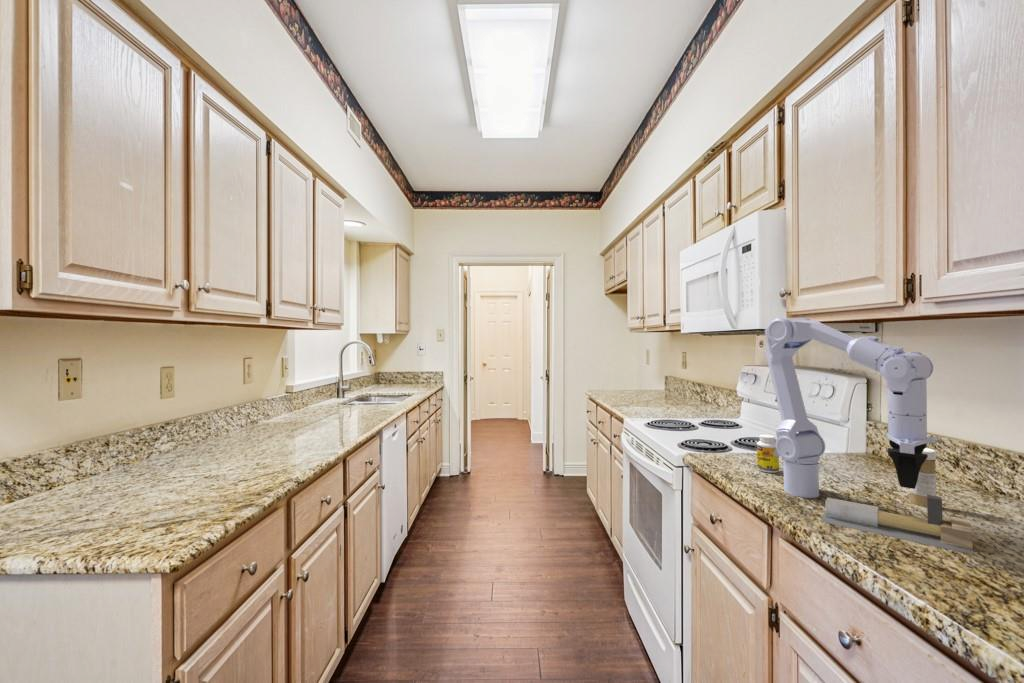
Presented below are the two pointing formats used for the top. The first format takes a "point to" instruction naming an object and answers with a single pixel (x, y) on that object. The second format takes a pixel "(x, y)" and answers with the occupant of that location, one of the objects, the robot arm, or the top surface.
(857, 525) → the base board
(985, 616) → the top surface
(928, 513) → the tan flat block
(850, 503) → the outer sleeve
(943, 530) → the socket block
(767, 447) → the supplement bottle
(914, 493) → the sprinkles bottle
